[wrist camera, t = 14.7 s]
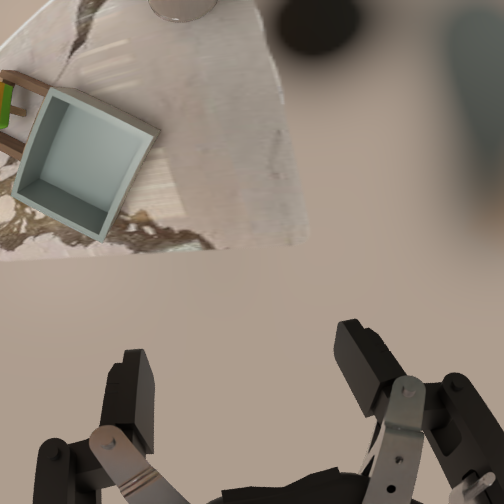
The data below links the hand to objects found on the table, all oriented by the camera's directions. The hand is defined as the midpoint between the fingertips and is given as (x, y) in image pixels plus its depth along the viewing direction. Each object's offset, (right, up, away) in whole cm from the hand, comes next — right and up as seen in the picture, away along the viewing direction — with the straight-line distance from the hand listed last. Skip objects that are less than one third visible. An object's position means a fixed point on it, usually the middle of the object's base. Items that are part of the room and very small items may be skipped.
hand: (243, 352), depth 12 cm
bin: (-21, +17, +25) cm, 37 cm away
